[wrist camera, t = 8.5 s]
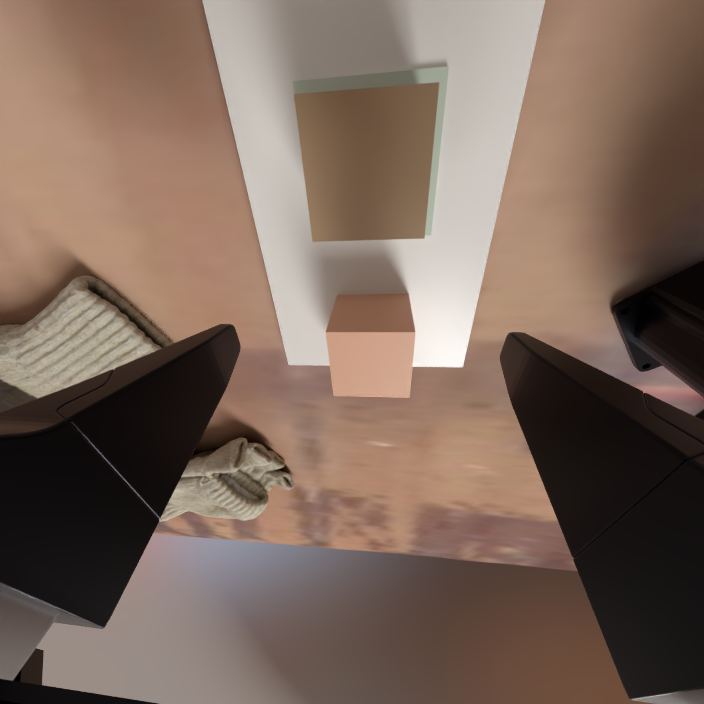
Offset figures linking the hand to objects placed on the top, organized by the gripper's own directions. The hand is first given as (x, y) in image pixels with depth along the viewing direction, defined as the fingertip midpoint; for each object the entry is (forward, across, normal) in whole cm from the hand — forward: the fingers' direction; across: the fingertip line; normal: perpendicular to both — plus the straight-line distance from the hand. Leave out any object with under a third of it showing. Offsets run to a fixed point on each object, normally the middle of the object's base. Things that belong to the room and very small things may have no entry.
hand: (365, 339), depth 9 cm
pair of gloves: (+10, +24, +20) cm, 33 cm away
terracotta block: (+9, 0, +5) cm, 10 cm away
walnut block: (+8, 0, -4) cm, 10 cm away
